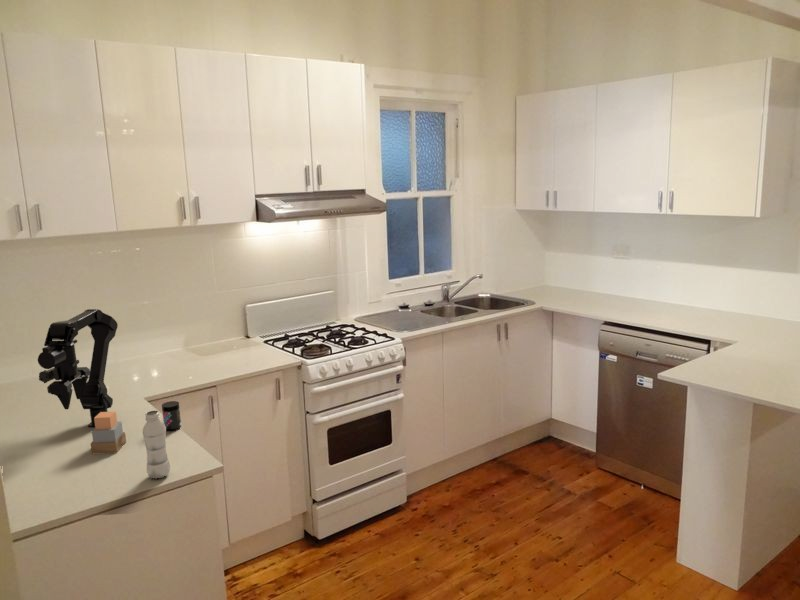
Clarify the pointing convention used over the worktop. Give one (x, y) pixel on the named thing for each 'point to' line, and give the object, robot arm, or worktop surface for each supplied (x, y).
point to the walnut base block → (109, 445)
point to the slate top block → (107, 434)
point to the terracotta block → (105, 420)
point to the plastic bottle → (155, 446)
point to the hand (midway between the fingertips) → (72, 404)
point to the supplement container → (171, 415)
